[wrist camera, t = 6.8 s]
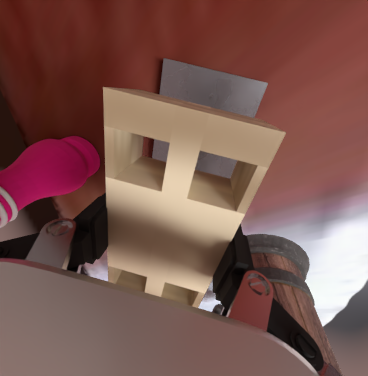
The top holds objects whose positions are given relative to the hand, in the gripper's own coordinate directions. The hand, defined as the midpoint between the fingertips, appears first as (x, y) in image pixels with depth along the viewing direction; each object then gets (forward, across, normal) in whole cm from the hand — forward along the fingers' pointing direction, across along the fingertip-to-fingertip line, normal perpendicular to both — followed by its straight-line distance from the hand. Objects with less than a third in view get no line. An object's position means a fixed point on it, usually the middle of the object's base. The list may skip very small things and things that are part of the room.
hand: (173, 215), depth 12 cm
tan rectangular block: (+1, 0, 0) cm, 1 cm away
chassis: (+13, 0, -1) cm, 13 cm away
